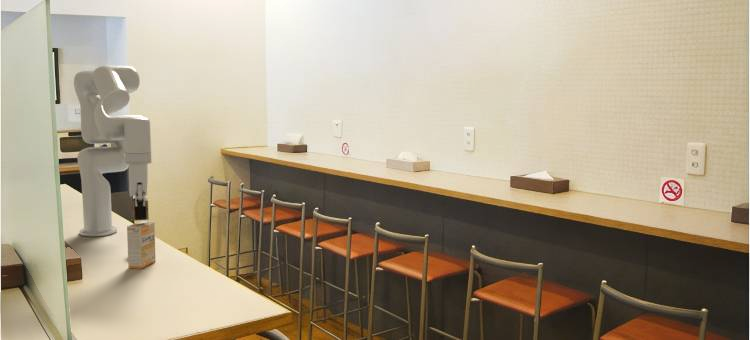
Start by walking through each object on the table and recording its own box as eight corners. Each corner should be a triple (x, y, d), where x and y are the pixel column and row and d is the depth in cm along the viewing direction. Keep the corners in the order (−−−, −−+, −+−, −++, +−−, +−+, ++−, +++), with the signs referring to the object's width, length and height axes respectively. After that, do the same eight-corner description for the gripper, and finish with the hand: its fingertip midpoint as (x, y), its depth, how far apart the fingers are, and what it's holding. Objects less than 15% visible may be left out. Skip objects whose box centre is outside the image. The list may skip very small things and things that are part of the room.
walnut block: (132, 217, 198) (131, 198, 197) (148, 216, 199) (147, 197, 198) (132, 220, 193) (132, 201, 192) (148, 219, 195) (147, 200, 194)
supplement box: (142, 269, 194) (140, 227, 192) (127, 268, 195) (126, 226, 193) (156, 261, 202) (155, 221, 200) (142, 260, 203) (141, 220, 201)
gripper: (124, 155, 200) (127, 212, 203) (124, 162, 184) (127, 224, 187) (150, 154, 203) (152, 210, 205) (152, 161, 187) (154, 222, 190)
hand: (140, 216), depth 196 cm, fingers closed on walnut block, 4 cm apart
